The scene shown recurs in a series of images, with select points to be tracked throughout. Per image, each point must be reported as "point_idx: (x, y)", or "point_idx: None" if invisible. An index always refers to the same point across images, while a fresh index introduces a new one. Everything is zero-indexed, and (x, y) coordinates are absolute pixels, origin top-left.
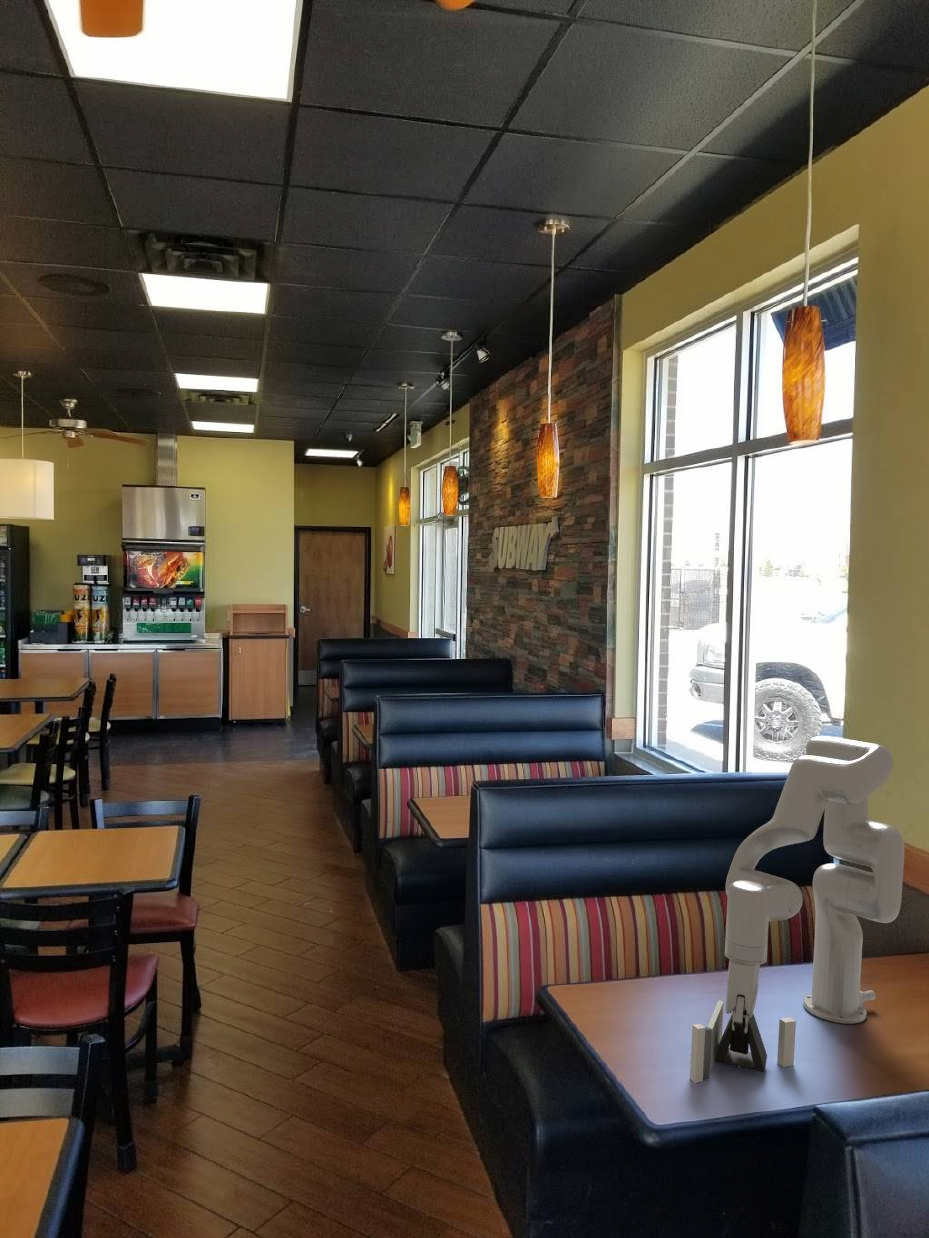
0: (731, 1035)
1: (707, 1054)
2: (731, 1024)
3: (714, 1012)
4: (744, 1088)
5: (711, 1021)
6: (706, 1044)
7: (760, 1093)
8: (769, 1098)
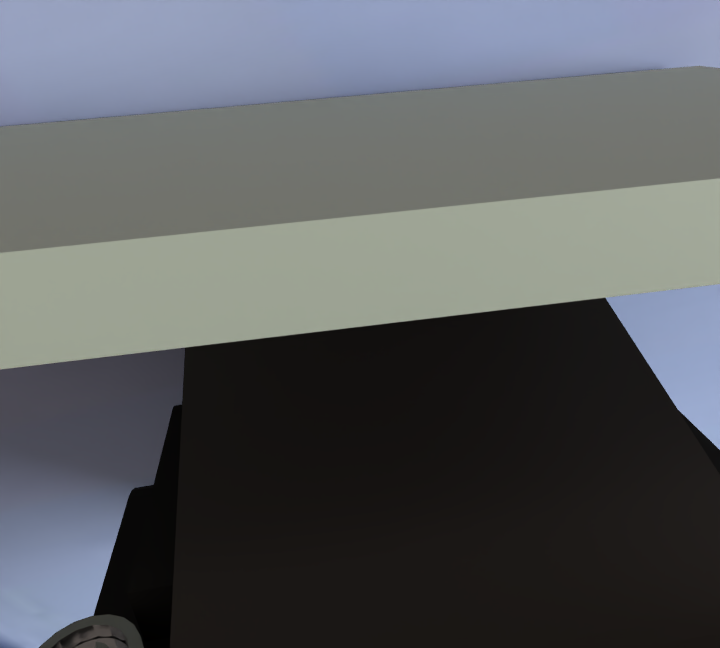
0: (148, 528)
1: None
2: (178, 632)
3: (606, 211)
4: (68, 436)
5: (116, 281)
6: None
7: (86, 523)
8: (69, 572)
